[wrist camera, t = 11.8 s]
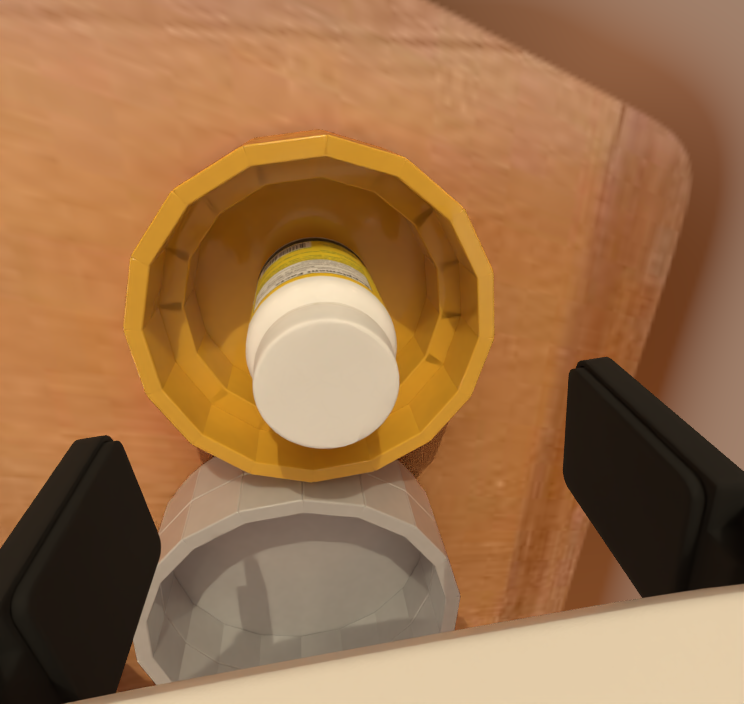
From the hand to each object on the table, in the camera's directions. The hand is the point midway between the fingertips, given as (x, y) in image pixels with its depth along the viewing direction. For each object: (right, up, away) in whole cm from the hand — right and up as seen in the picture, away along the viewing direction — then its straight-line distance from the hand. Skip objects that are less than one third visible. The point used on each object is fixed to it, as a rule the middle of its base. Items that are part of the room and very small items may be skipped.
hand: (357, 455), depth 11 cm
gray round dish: (-4, -8, +17) cm, 19 cm away
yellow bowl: (-2, +5, +11) cm, 12 cm away
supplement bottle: (-2, +5, +11) cm, 12 cm away
